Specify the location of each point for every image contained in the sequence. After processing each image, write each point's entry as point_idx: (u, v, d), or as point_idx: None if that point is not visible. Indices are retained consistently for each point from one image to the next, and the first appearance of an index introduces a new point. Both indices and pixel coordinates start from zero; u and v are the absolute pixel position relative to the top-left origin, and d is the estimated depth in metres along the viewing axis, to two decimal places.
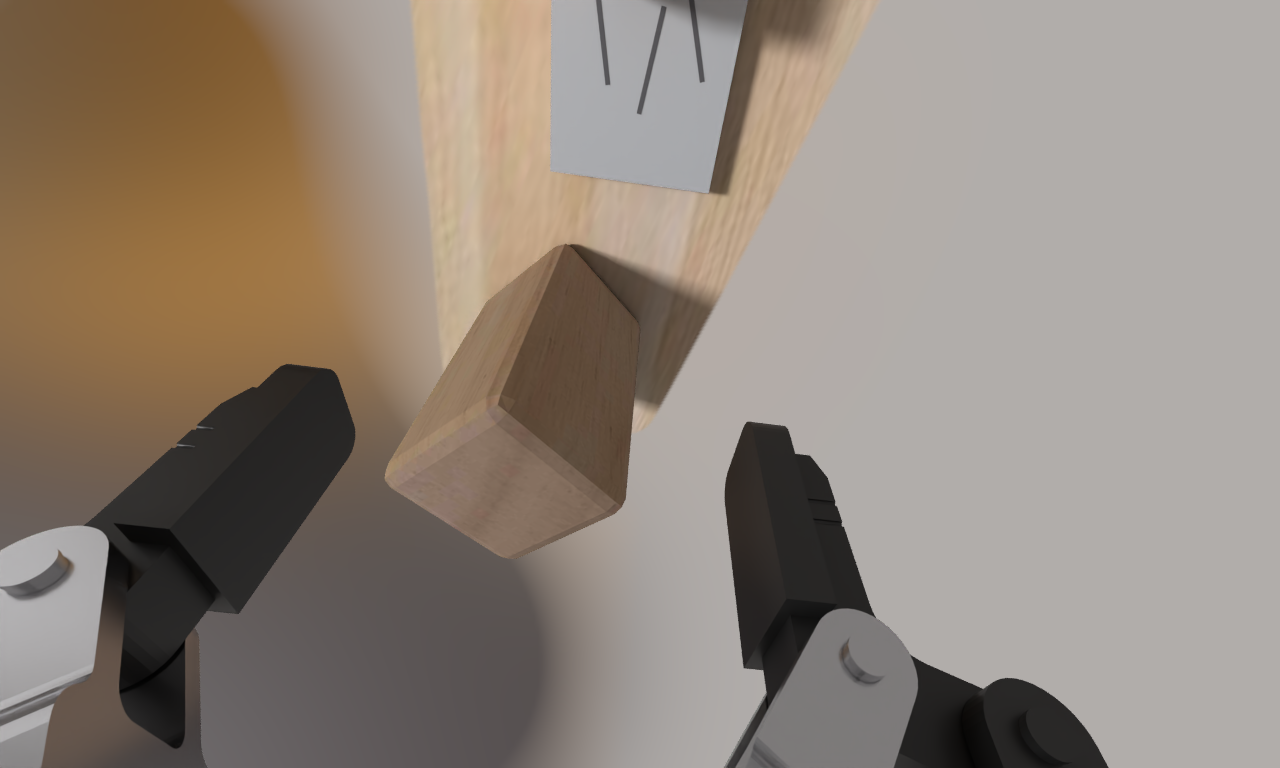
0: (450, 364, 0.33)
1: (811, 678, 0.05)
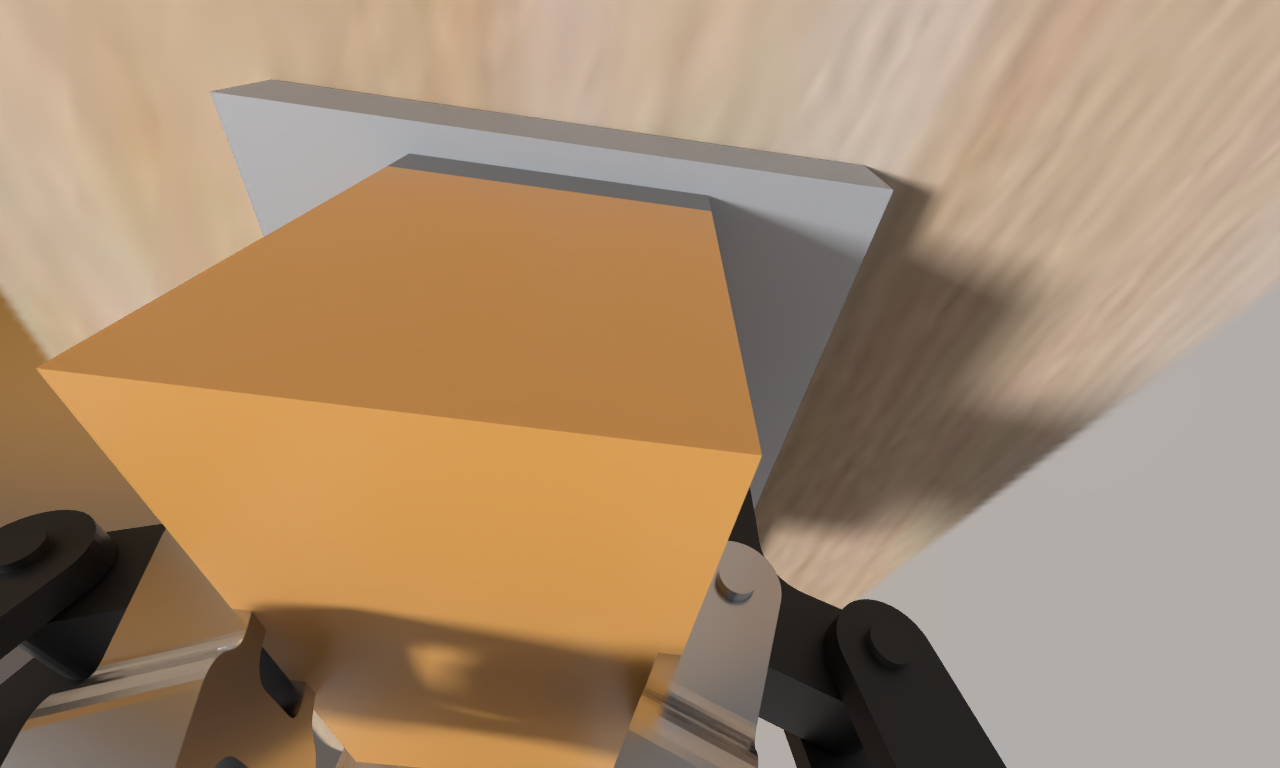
0: None
1: None
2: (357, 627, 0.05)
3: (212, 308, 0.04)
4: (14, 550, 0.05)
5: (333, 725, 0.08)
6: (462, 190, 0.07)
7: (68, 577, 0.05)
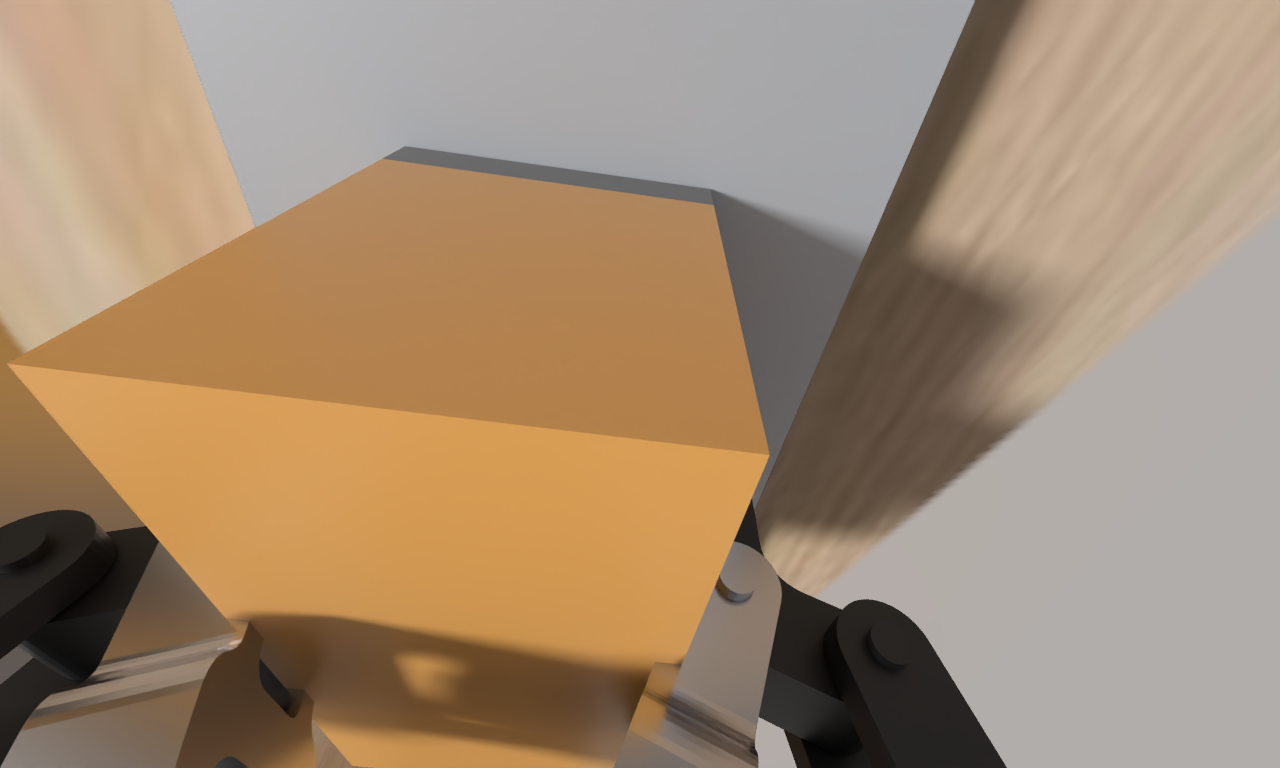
0: None
1: None
2: (351, 631, 0.05)
3: (196, 302, 0.04)
4: (13, 550, 0.05)
5: (328, 729, 0.07)
6: (458, 183, 0.07)
7: (68, 577, 0.05)
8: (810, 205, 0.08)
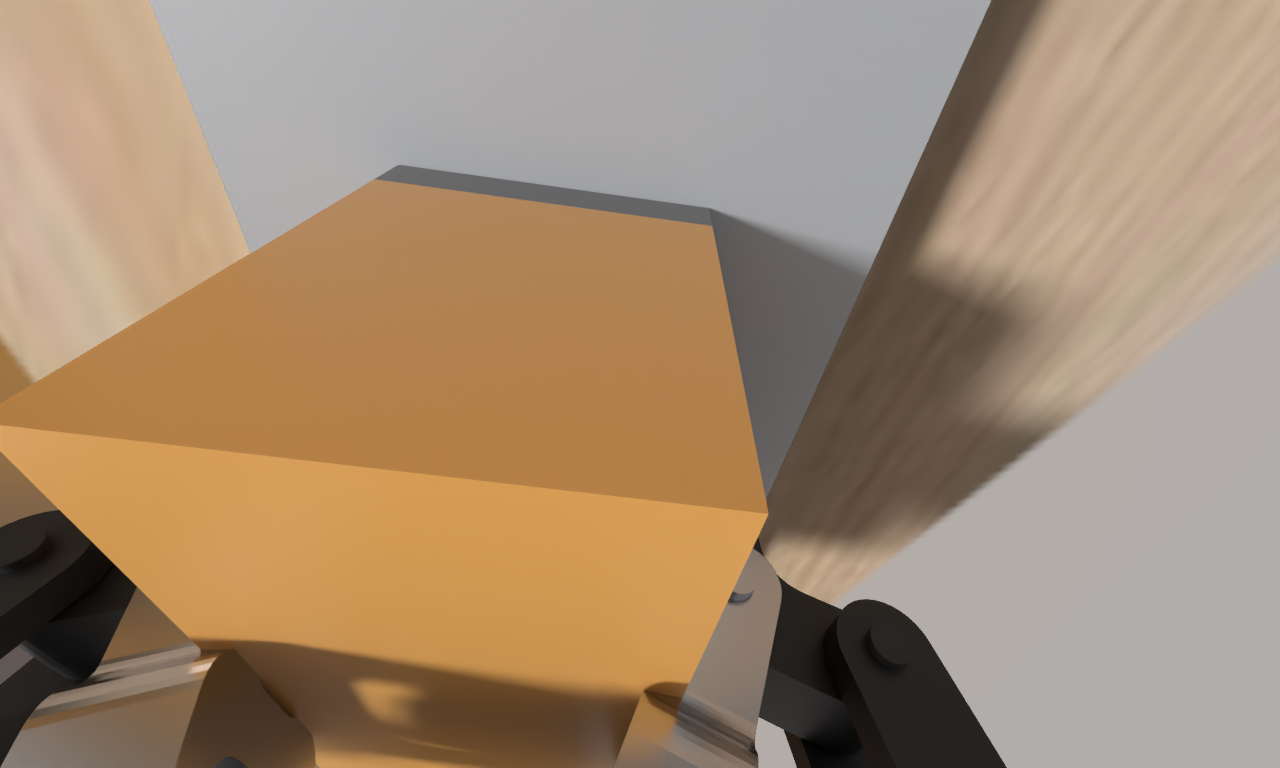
0: None
1: None
2: (339, 671, 0.05)
3: (174, 346, 0.04)
4: (12, 550, 0.05)
5: (319, 760, 0.07)
6: (452, 205, 0.07)
7: (68, 577, 0.05)
8: (778, 323, 0.09)
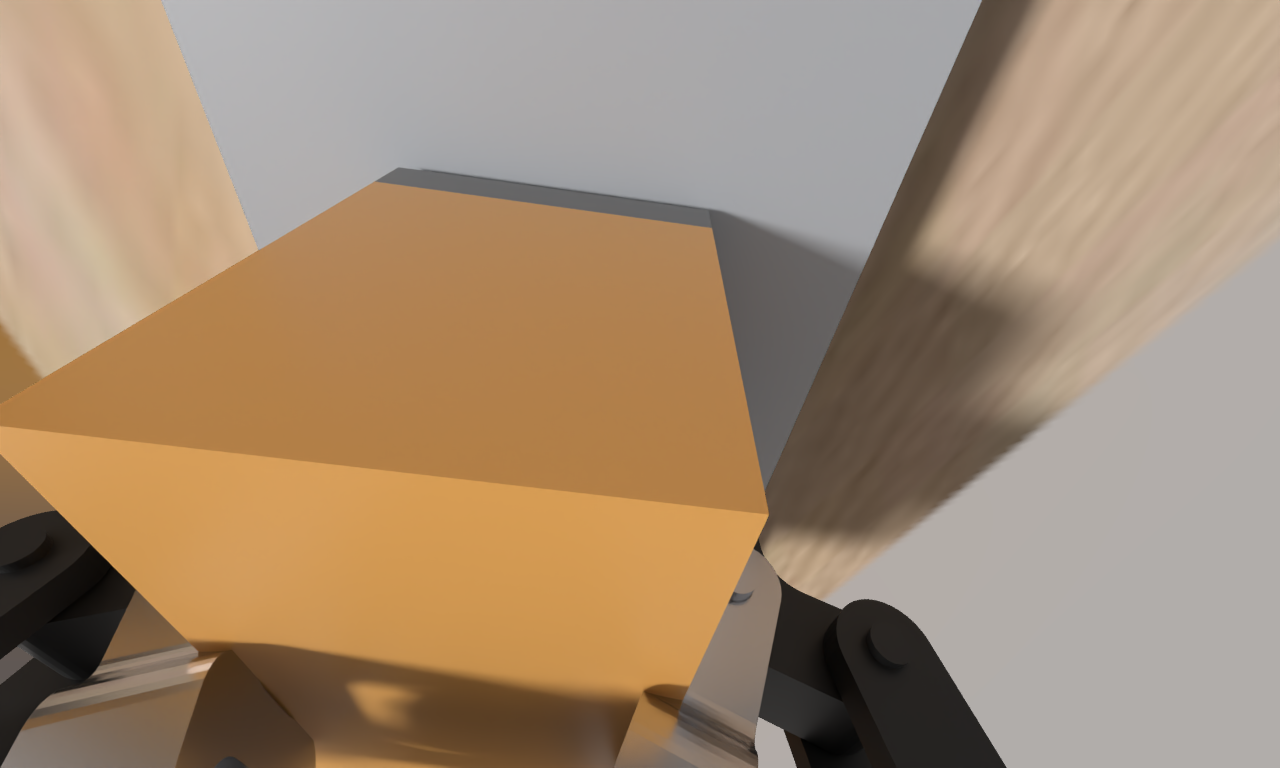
0: None
1: None
2: (338, 673, 0.05)
3: (174, 347, 0.04)
4: (13, 550, 0.05)
5: (318, 764, 0.07)
6: (452, 207, 0.07)
7: (68, 577, 0.05)
8: (783, 293, 0.09)
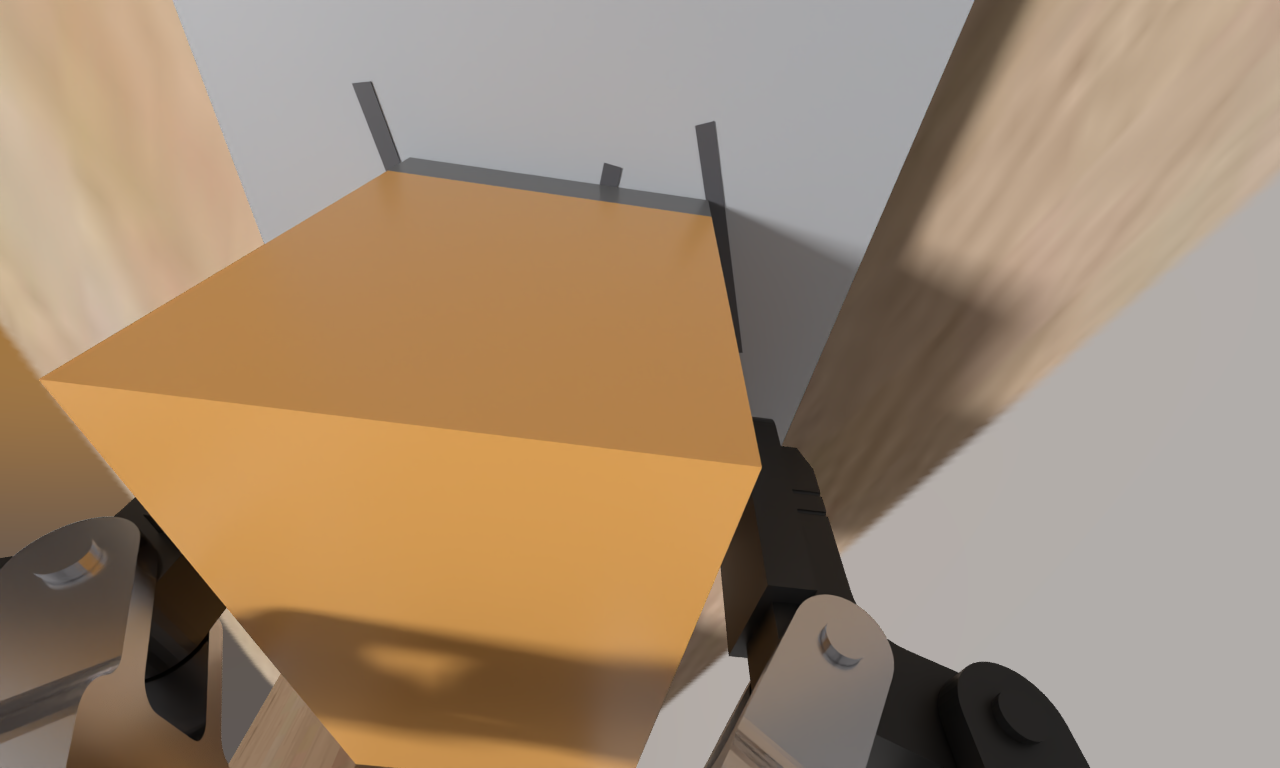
0: None
1: (789, 661, 0.06)
2: (358, 633, 0.05)
3: (214, 318, 0.04)
4: None
5: (333, 728, 0.08)
6: (462, 195, 0.07)
7: None
8: None
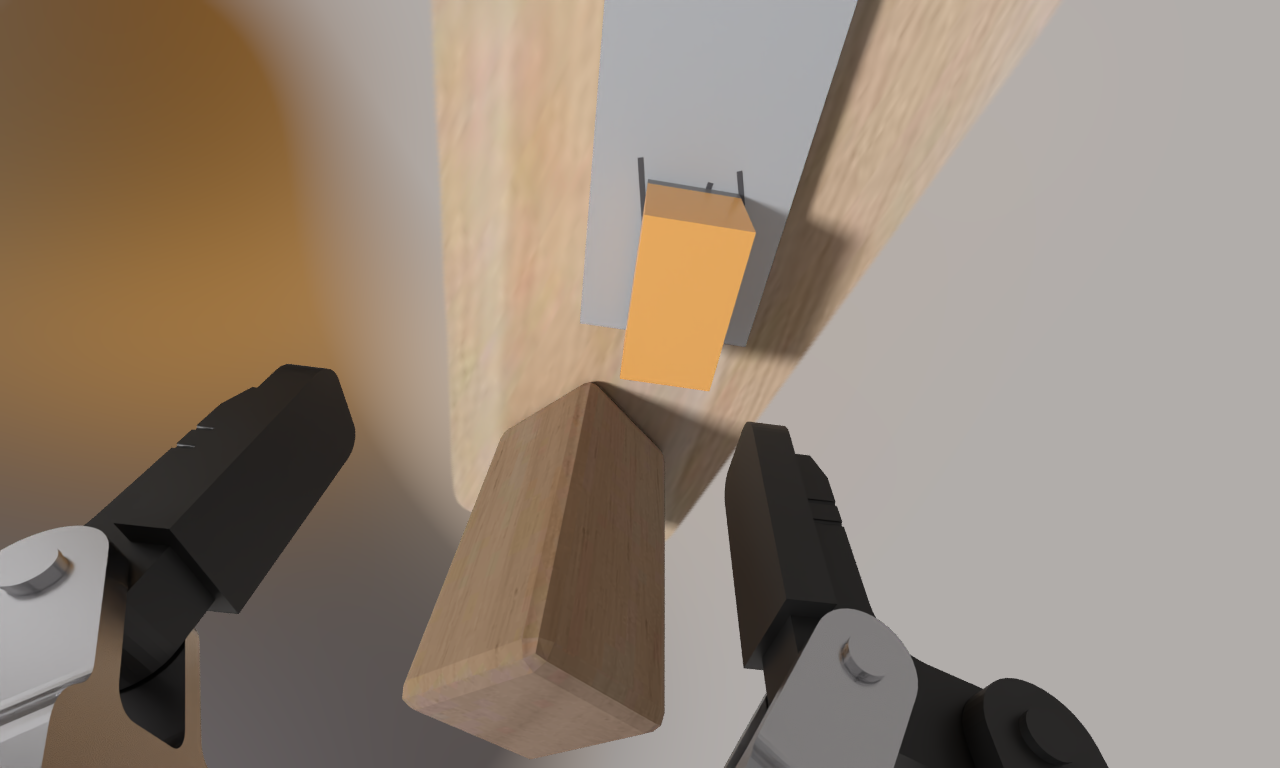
0: (469, 528, 0.31)
1: (811, 678, 0.05)
2: (661, 290, 0.23)
3: (655, 209, 0.22)
4: None
5: (626, 348, 0.25)
6: (673, 190, 0.25)
7: None
8: (788, 135, 0.24)
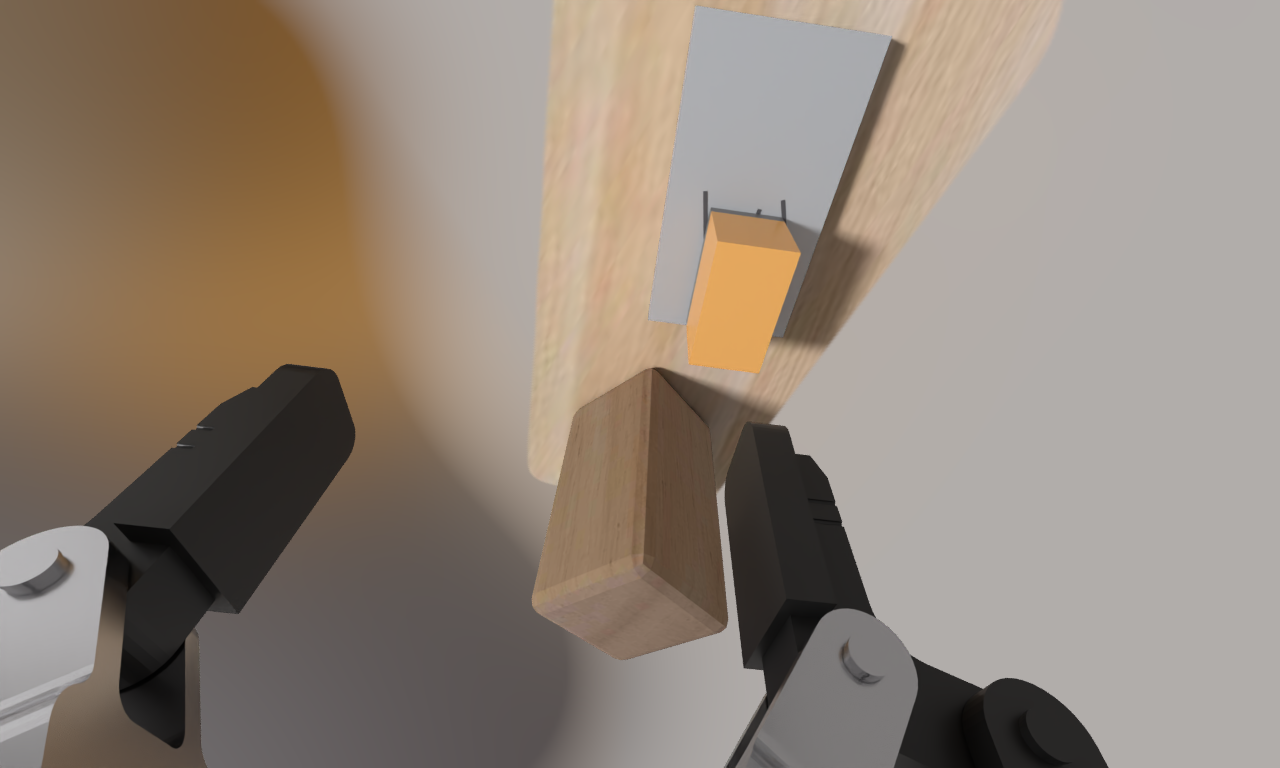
0: (563, 486, 0.39)
1: (811, 678, 0.05)
2: (726, 296, 0.31)
3: (724, 236, 0.29)
4: None
5: (696, 341, 0.33)
6: (732, 217, 0.32)
7: None
8: (822, 173, 0.31)
